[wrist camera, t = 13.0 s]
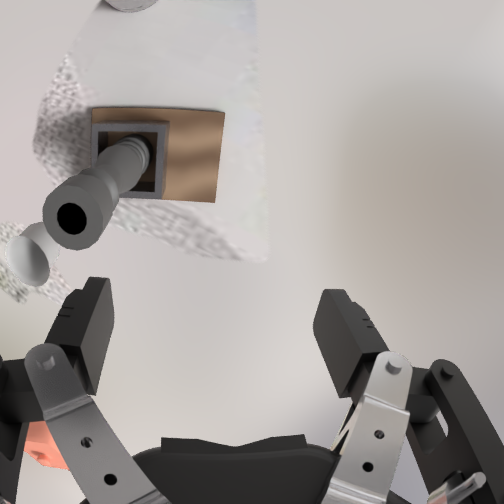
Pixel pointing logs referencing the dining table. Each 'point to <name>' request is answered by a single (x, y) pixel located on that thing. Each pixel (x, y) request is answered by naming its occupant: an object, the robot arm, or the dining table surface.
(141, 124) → the collar
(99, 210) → the candle holder
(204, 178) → the keeper plate
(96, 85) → the dining table surface
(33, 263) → the chalice
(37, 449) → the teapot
